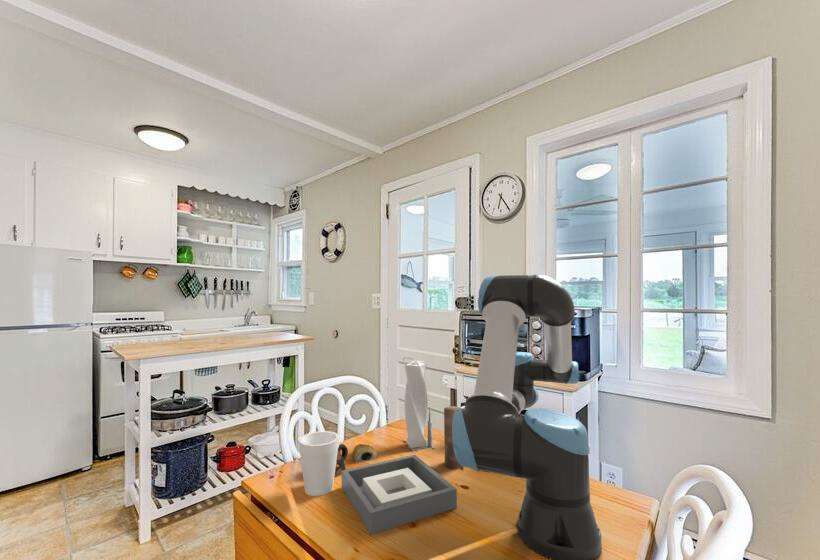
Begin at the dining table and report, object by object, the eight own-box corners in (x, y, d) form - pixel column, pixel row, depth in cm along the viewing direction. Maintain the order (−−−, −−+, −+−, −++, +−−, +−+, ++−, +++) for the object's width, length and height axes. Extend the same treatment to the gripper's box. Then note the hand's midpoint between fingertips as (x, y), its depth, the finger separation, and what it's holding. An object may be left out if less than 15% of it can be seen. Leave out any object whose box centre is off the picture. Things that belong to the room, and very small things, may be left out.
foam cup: (291, 493, 90) (291, 438, 90) (323, 479, 97) (324, 428, 97) (313, 508, 83) (313, 449, 84) (346, 492, 90) (346, 437, 91)
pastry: (349, 452, 114) (350, 439, 114) (371, 449, 116) (371, 437, 116) (355, 465, 105) (355, 451, 105) (378, 462, 107) (378, 448, 107)
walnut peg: (466, 469, 101) (465, 410, 102) (451, 473, 99) (450, 412, 100) (456, 462, 106) (455, 405, 107) (441, 466, 104) (440, 407, 104)
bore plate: (431, 503, 83) (431, 489, 84) (381, 517, 78) (381, 503, 78) (408, 479, 94) (407, 467, 94) (362, 491, 89) (362, 478, 89)
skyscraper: (407, 452, 113) (407, 359, 114) (400, 442, 120) (400, 355, 122) (434, 449, 115) (433, 357, 116) (425, 439, 123) (424, 354, 124)
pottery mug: (334, 488, 93) (317, 459, 94) (312, 495, 98) (296, 467, 99) (361, 458, 104) (346, 431, 104) (340, 465, 108) (326, 440, 109)
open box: (456, 512, 82) (456, 488, 82) (370, 539, 73) (370, 513, 73) (414, 473, 99) (414, 454, 100) (341, 491, 91) (341, 470, 91)
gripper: (545, 423, 117) (512, 444, 102) (477, 407, 134) (440, 422, 119) (545, 399, 117) (511, 416, 102) (477, 386, 134) (440, 398, 119)
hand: (473, 419), depth 110 cm, fingers open, 13 cm apart
